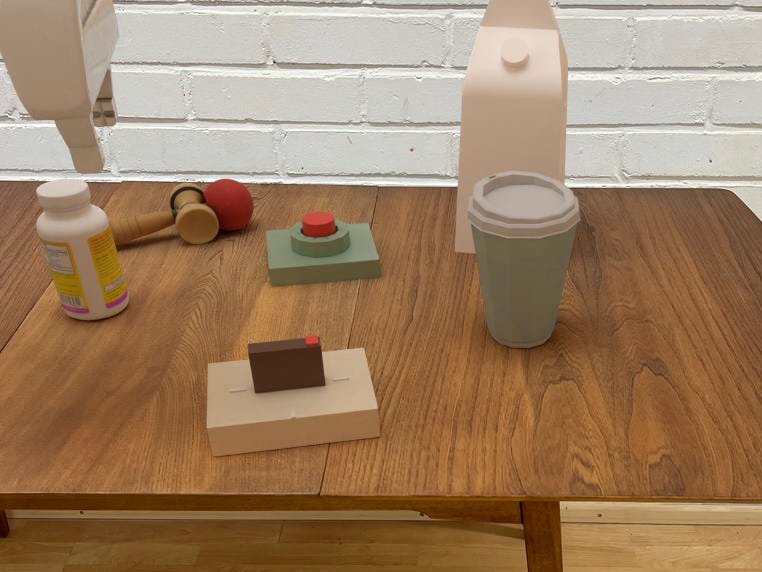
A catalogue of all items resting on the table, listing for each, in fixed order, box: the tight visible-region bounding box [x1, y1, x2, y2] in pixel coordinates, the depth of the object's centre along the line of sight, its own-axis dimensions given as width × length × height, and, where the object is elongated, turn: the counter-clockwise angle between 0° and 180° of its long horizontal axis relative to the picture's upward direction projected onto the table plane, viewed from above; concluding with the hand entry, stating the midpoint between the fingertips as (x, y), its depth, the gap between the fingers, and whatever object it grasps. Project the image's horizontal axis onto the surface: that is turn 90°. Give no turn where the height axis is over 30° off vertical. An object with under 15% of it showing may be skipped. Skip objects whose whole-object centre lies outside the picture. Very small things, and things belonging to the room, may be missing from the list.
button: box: [301, 211, 336, 238], centre depth 99 cm, size 4×4×2 cm
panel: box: [205, 347, 381, 458], centre depth 78 cm, size 14×10×3 cm
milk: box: [454, 0, 569, 254], centre depth 100 cm, size 12×12×26 cm
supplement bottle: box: [35, 178, 130, 321], centre depth 89 cm, size 7×7×13 cm
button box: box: [265, 218, 381, 288], centre depth 101 cm, size 12×10×4 cm
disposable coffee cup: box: [466, 171, 581, 349], centre depth 85 cm, size 11×11×15 cm
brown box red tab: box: [247, 334, 326, 393], centre depth 76 cm, size 6×2×4 cm, turn 103°
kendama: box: [109, 178, 255, 247], centre depth 105 cm, size 8×6×18 cm
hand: (99, 145), depth 63 cm, fingers open, 8 cm apart
